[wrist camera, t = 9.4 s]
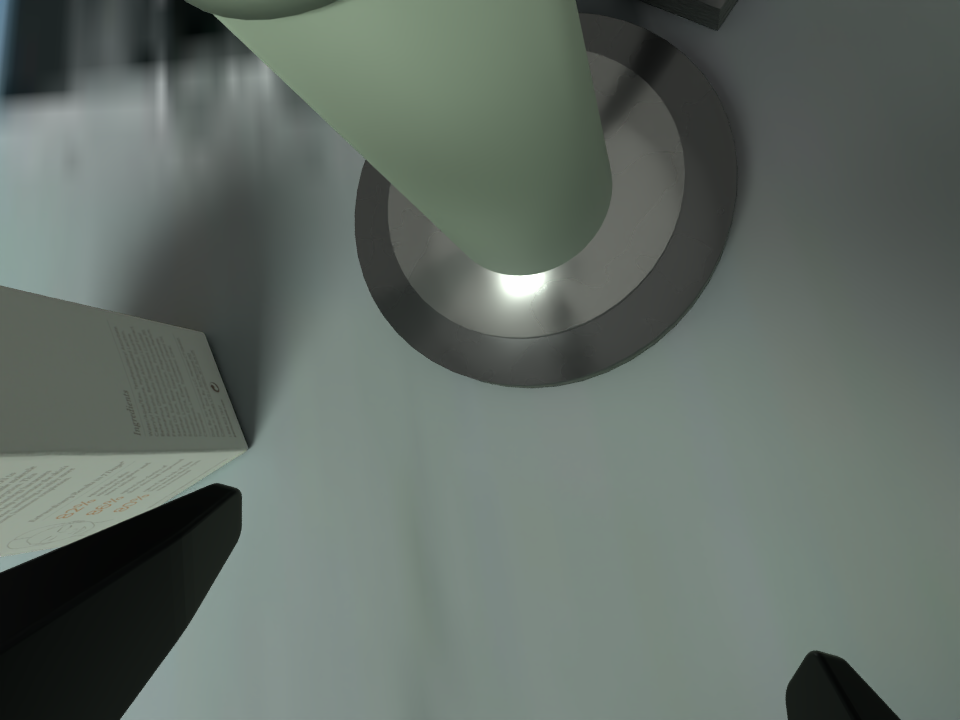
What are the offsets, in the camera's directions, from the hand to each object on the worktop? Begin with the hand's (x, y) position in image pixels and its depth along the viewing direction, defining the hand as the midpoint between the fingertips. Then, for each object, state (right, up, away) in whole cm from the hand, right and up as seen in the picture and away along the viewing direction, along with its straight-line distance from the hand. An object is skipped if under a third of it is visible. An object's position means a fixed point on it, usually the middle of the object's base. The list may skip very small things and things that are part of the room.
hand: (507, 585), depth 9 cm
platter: (+1, +9, +11) cm, 15 cm away
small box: (-14, 0, +15) cm, 21 cm away
